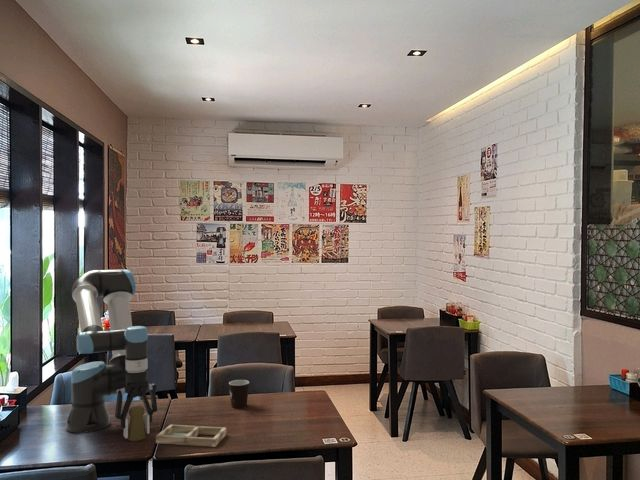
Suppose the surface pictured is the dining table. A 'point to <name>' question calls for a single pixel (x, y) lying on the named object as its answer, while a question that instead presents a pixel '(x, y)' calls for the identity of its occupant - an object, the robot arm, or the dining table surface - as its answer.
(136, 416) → the olive condiment shaker
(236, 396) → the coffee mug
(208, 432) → the condiment rack
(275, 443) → the dining table surface
